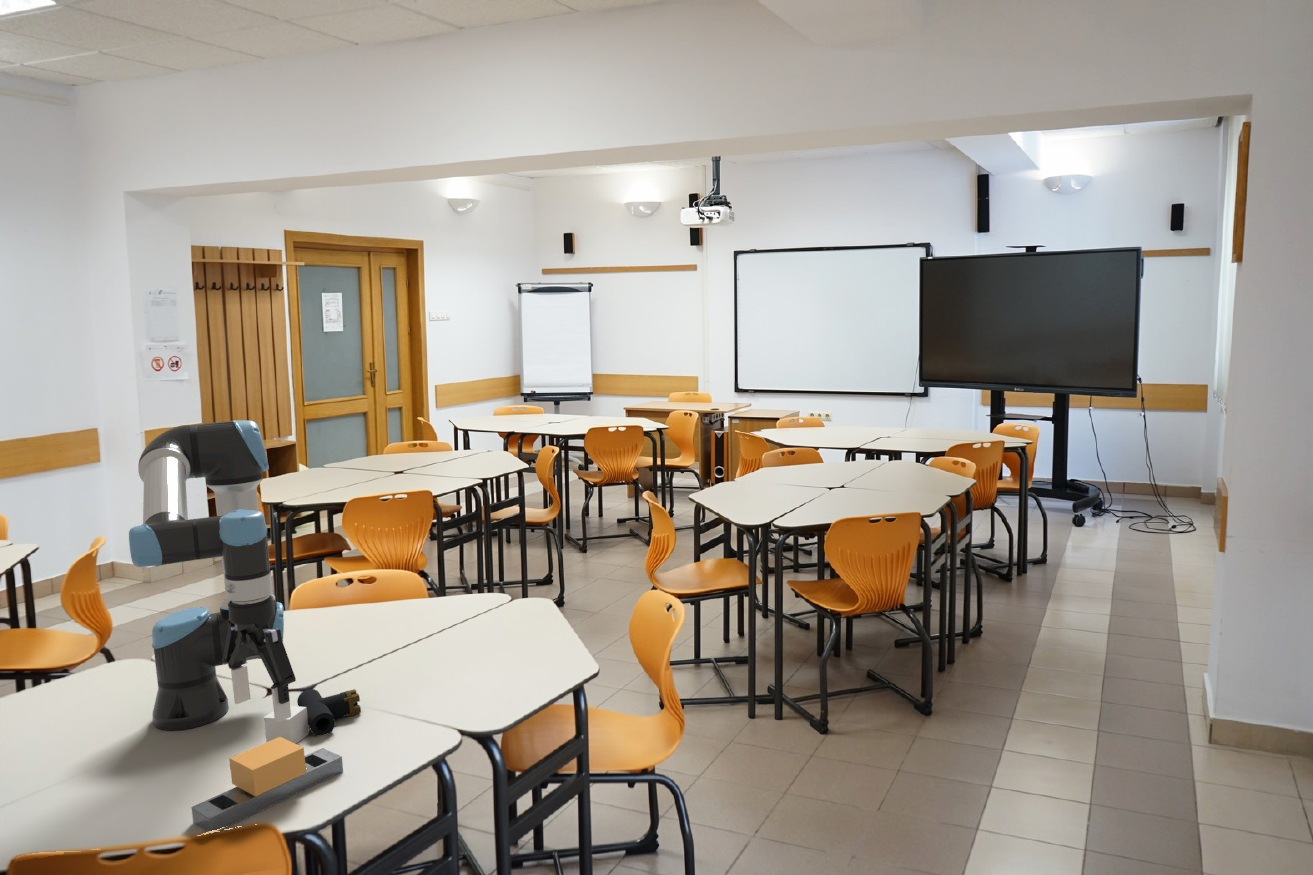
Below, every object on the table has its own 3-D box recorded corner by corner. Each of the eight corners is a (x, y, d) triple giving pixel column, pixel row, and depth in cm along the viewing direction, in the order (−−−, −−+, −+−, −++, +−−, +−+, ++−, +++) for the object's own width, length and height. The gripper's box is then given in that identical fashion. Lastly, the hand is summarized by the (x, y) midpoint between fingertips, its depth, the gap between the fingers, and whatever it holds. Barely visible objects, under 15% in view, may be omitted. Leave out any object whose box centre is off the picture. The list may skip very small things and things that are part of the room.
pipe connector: (348, 678, 215) (365, 701, 202) (351, 700, 216) (367, 724, 203) (296, 691, 209) (309, 716, 196) (298, 713, 210) (312, 739, 197)
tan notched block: (234, 801, 173) (229, 758, 171) (284, 778, 180) (279, 736, 179) (257, 814, 168) (252, 770, 167) (308, 790, 176) (303, 747, 174)
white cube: (309, 733, 199) (306, 706, 198) (291, 747, 194) (289, 719, 193) (284, 731, 201) (281, 705, 200) (266, 744, 195) (263, 717, 194)
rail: (193, 822, 166) (191, 807, 166) (324, 762, 186) (322, 747, 186) (211, 834, 162) (209, 818, 162) (343, 771, 182) (341, 756, 182)
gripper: (195, 592, 173) (207, 701, 177) (269, 616, 158) (281, 735, 161) (234, 581, 179) (245, 687, 182) (309, 603, 164) (320, 718, 167)
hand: (262, 710), depth 172 cm, fingers open, 13 cm apart
